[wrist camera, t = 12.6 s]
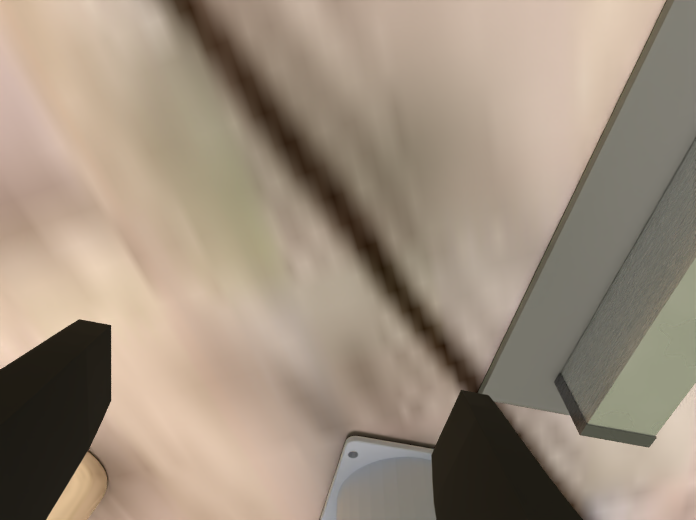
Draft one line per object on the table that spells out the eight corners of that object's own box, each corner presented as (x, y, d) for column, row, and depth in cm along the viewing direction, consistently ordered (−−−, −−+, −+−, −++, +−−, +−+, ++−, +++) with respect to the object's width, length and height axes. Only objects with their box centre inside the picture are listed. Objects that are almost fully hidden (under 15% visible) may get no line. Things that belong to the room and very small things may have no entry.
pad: (648, 424, 25) (652, 430, 25) (477, 392, 24) (479, 398, 24) (1035, -100, 15) (1052, -102, 14) (759, -190, 14) (769, -194, 13)
